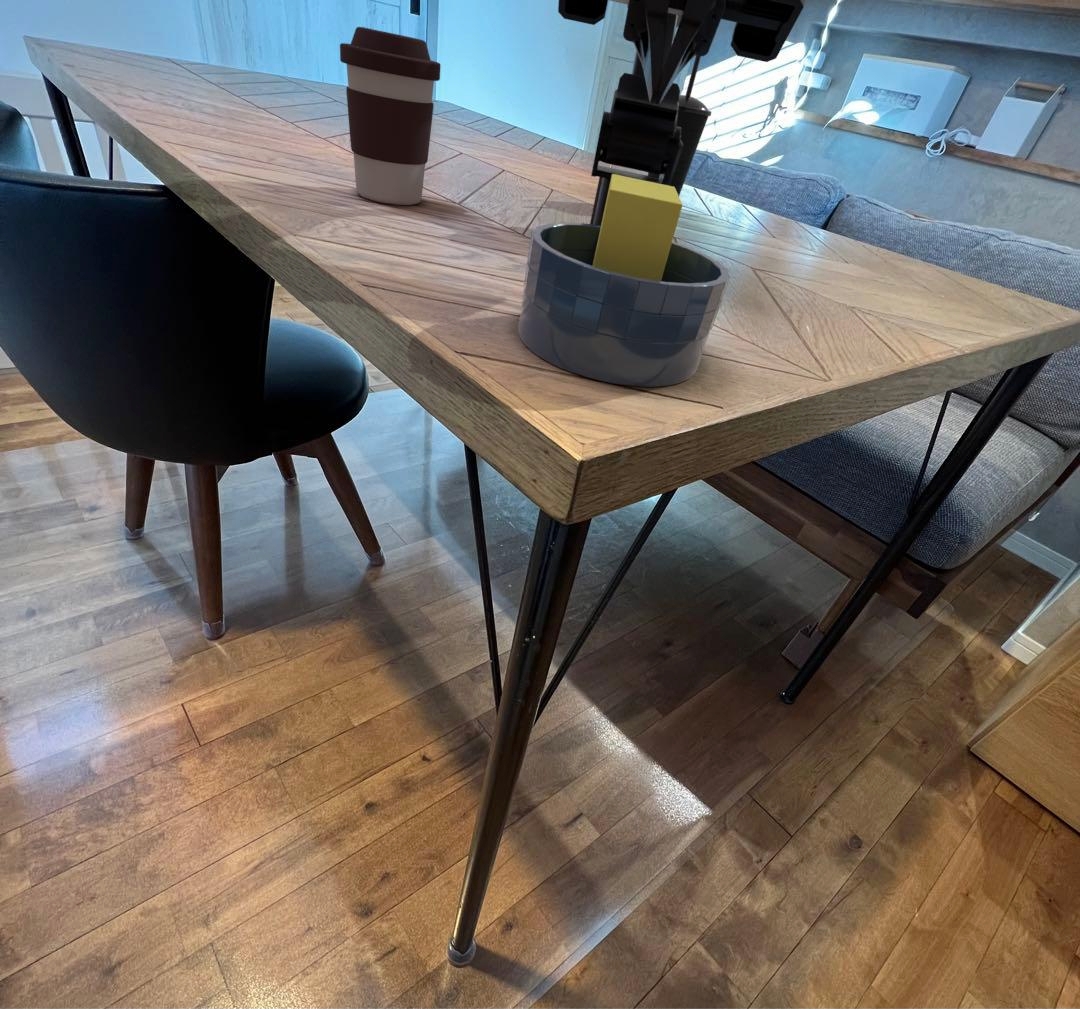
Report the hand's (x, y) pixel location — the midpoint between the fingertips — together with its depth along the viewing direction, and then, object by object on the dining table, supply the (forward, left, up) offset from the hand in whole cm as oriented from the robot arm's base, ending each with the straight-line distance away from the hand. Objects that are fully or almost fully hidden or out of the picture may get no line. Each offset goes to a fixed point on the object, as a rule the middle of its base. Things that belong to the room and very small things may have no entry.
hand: (655, 99), depth 47 cm
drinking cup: (-29, +35, -15) cm, 48 cm away
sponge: (+10, -9, -11) cm, 18 cm away
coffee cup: (-29, -9, -15) cm, 34 cm away
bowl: (+12, -10, -14) cm, 21 cm away
